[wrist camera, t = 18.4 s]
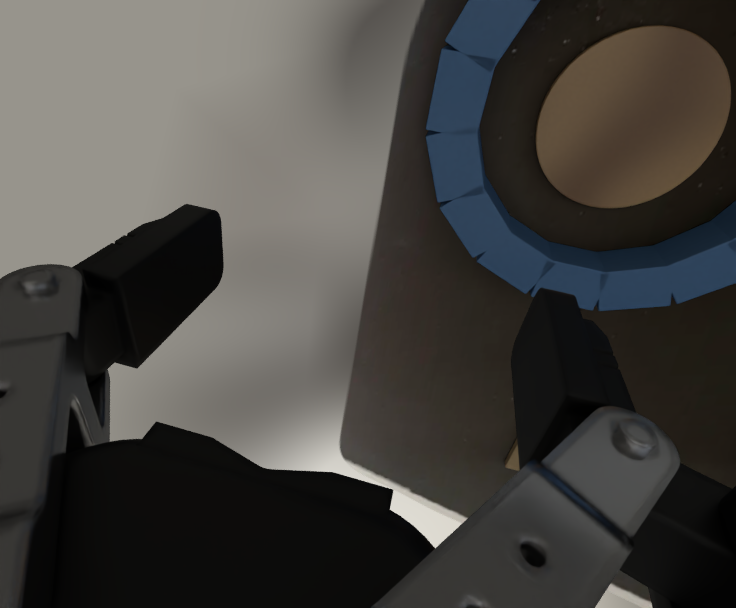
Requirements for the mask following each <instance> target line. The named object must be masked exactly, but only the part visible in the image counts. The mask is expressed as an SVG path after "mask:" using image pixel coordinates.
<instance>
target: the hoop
mask: <svg viewBox="0 0 736 608" xmlns="http://www.w3.org/2000/svg"><path fill="white" fill-rule="evenodd" d="M539 1H540V0H468V2H467V4H466V5H465V7H464V9H463V10H462V12H461V14H460V15H459V17H458V19H457V21H456V22H455V24H454V26H453V27H452V29H451V31H450V32H449V34H448V36H447V37H446V39H445V42H447V43H448V44H449V45H451V46H448V45H446V46H445V47H444V48H442V49H441V54H440V59H439V64H438V69H437V74H436V79H435V84H434V89H433V94H432V99H431V104H430V109H429V114H428V119H427V124H426V130H429V131H428V133H427V135H426V142H427V147H428V153H429V159H430V164H431V170H432V175H433V181H434V186H435V192H436V198H437V202H441V205H440V209H441V211H442V212H443V214H444V215H445V217H446V218H447V220H448V222H449V223H450V225H451V226H452V228H453V229H454V231H455V232H456V234H457V235H458V237H459V238H460V240H461V241H462V243H463V244H464V246H465V247H466V249H467V250H468V252H469V253H470V255H471V256H472V258H473V257H475V256H477V262H478V263H479V264H481V265H482V266H484V267H486V268H487V269H489V270H490V271H492V272H493V273H495V274H496V275H498V276H499V277H501V278H502V279H504V280H505V281H507V282H508V283H510V284H511V285H513V286H514V287H516V288H517V289H519V290H520V291H522V292H523V293H525V294H526V293H527V292H528V291H529V290H530V294H531V296H532V297H534V296H535V294H536V293H537V291H538V290H539V289H540V288H547V289H551V290H555V291H559V292H564V293H568V294H572V295H575V297H576V299H577V302H578V305H579V308H583V309H587V310H593V308H594V307H595V305H597V308H598V311H607V310H620V309H633V308H647V307H660V306H670V303H671V295H672V297H673V299H674V300H675V302H676V303H677V304H679V303H682V302H684V301H687V300H690V299H693V298H695V297H698V296H701V295H704V294H707V293H709V292H712V291H715V290H718V289H720V288H723V287H726V286H729V285H732V284H734V283H736V201H734V202H733V203H732V204H731V205H730V206H728V207H727V208H726V209H725V210H723V211H722V212H721V213H720V214H718V215H717V216H716V217H715V218H713V219H712V220H711V221H709V222H707V223H705V224H702V225H700V226H698V227H695V228H693V229H691V230H688V231H686V232H684V233H681V234H679V235H677V236H674V237H672V238H670V239H667V240H665V241H663V242H660V243H658V244H656V245H653V246H645V247H636V248H627V249H619V250H610V251H601V252H594V251H590V250H585V249H580V248H576V247H571V246H567V245H562V244H558V243H553V242H548V241H547V240H545V239H544V238H542V237H541V236H539V235H538V234H536V233H535V232H533V231H532V230H531V229H529V228H528V227H526V226H525V225H523V224H522V223H520V222H519V221H517V220H516V219H514V218H513V217H512V216H510V215H509V213H508V212H507V210H506V208H505V207H504V205H503V203H502V202H501V200H500V198H499V197H498V195H497V193H496V192H495V190H494V188H493V187H492V185H491V184H490V182H489V180H488V179H487V177H486V175H485V170H484V162H483V154H482V145H481V137H480V129H479V125H480V121H481V117H482V114H483V110H484V106H485V102H486V99H487V95H488V91H489V87H490V84H491V80H492V76H493V72H494V69H495V66H496V65H497V63H498V62H499V60H500V59H501V57H502V56H503V54H504V53H505V51H506V50H507V48H508V47H509V45H510V44H511V42H512V41H513V40H514V38H515V37H516V35H517V34H518V32H519V31H520V29H521V28H522V26H523V25H524V23H525V22H526V20H527V19H528V17H529V16H530V14H531V13H532V12H533V10H534V9H535V7H536V6H537V4H538V3H539Z"/></svg>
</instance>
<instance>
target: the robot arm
mask: <svg viewBox="0 0 736 608" xmlns="http://www.w3.org/2000/svg"><path fill="white" fill-rule="evenodd" d="M222 273H223V248H222V229H221V218H220V216H219V213H218V212H217V211H215V210H211V209H206V208H202V207H198V206H193V205H189V204H186V205H183V206H182V207H180V208H178V209H177V210H175V211H174V212H172V213H171V214H169V215H167V216H166V217H164V218H162V219H158V220H155V221H152V222H148V223H145V224H143V225H141V226H139V227H137V228H136V229H134V230H133V231H131V232H129V233H128V234H127V236H123V237H121V238H120V239H118V240H116V241H115V244H113V243H111V244H110V245H108V246H106V247H105V248H103V249H101V250H100V251H98V252H97V253H95V254H94V255H92V256H90V257H88V258H87V259H85V260H84V261H82V262H80V263H79V264H77V265H75V266H74V267H72V268H71V267H68V266H64V265H54V264H53V265H52V264H47V265H37V266H31V267H26V268H23V269H19V270H16V271H14V272H11V273H9V274H7V275H6V276H4V277H2V278H1V279H0V608H595V606H596V605H597V603H598V602H599V600H600V599H601V597H602V596H603V594H604V593H605V591H606V590H607V588H608V586H609V585H610V583H611V582H612V580H613V579H614V577H615V576H616V574H617V573H618V571H619V570H621V571H622V572H624V573H625V574H627V575H629V576H630V577H632V578H634V579H635V580H637V581H639V582H640V583H642V584H644V585H645V586H647V587H648V589H649V593H650V598H651V602H652V606H653V608H736V486H735V487H734V488H733V489H731V488H729V487H727V486H725V485H723V484H721V483H719V482H717V481H715V480H713V479H711V478H709V477H707V476H705V475H703V474H701V473H699V472H697V471H695V470H693V469H691V468H689V467H687V466H685V465H683V464H681V463H680V458H679V454H678V451H677V449H676V447H675V445H674V444H673V442H672V441H671V440H670V438H669V437H668V436H667V435H666V434H665V433H664V432H663V431H662V430H661V429H660V428H659V427H658V426H657V425H655V424H654V423H652V422H651V421H650V420H648V419H646V418H645V417H643V416H641V415H639V414H637V413H636V411H635V408H634V406H633V403H632V400H631V398H630V395H629V393H628V390H627V387H626V385H625V382H624V380H623V377H622V374H621V372H620V370H619V369H618V364H617V361H616V359H615V356H613V351H612V348H611V346H610V343H609V340H608V338H607V336H606V335H605V334H604V333H603V332H602V331H601V330H600V329H599V327H598V326H597V325H596V324H595V323H594V322H593V321H591V320H587V319H583V318H582V315H581V312H580V309H579V305H578V302H577V299H576V297H575V295H572V294H568V293H564V292H559V291H555V290H551V289H547V288H540V289H539V290H538V291H537V293H536V294H535V296H534V299H533V301H532V303H531V306H530V308H529V310H528V312H527V315H526V317H525V319H524V321H523V324H522V326H521V328H520V331H519V333H518V335H517V337H516V340H515V343H514V346H513V351H512V357H511V368H512V380H513V393H514V405H515V418H516V431H517V443H518V456H519V468H520V471H519V472H518V473H517V474H516V475H515V476H513V477H512V478H511V479H510V480H509V481H508V482H507V483H506V484H505V485H504V486H503V487H502V488H500V489H499V490H498V491H497V492H496V493H495V494H494V495H493V496H492V497H491V498H490V499H489V500H487V501H486V502H485V503H484V504H483V505H482V506H481V507H480V508H479V509H478V510H477V511H476V512H474V513H473V514H472V515H471V516H470V517H469V518H468V519H467V520H466V521H465V522H464V523H463V524H461V525H460V526H459V527H458V528H457V529H456V530H455V531H454V532H453V533H452V534H451V535H450V536H448V537H447V538H446V539H445V540H444V541H443V542H442V543H441V544H440V545H439V546H438V547H437V548H434V547H433V546H432V544H431V543H430V542H429V541H428V540H427V539H426V538H425V536H423V535H422V534H421V533H420V532H419V531H418V530H417V529H416V528H415V527H414V526H413V525H411V524H410V523H409V522H407V521H406V520H405V519H403V518H402V517H401V516H399V515H398V514H396V513H394V512H393V511H391V510H390V505H391V499H392V494H393V490H392V489H389V488H385V487H382V486H378V485H375V484H371V483H368V482H365V481H361V480H358V479H354V478H351V477H347V476H344V475H340V474H337V473H333V472H314V471H293V470H272V469H266V468H262V467H260V466H258V465H257V464H255V463H253V462H252V461H250V460H248V459H247V458H245V457H243V456H242V455H240V454H238V453H237V452H235V451H233V450H232V449H230V448H228V447H227V446H225V445H223V444H222V443H220V442H219V441H216V440H215V439H214V438H211V437H208V436H204V435H201V434H198V433H194V432H191V431H187V430H184V429H180V428H177V427H173V426H170V425H167V424H163V423H159V422H156V423H155V424H154V425H153V426H152V427H151V429H150V430H149V431H148V432H147V434H146V435H145V436H144V437H143V439H129V440H118V441H112V442H110V441H109V440H110V439H109V435H110V426H109V425H110V377H109V373H108V370H107V369H108V368H109V367H110V366H111V365H112V364H113V363H114V362H116V363H119V364H122V365H126V366H130V367H133V368H138V367H139V366H140V365H141V364H142V363H143V362H144V361H145V360H146V359H147V358H148V357H149V356H150V355H151V354H152V353H153V352H154V351H155V350H156V349H157V348H158V347H159V346H160V345H161V344H162V343H163V342H164V341H165V340H166V339H167V337H169V336H170V335H171V334H172V332H173V331H174V330H175V329H176V328H177V327H178V326H179V325H180V324H181V323H182V322H183V321H184V320H185V319H186V318H187V317H188V316H189V315H190V314H191V313H192V312H193V311H194V310H195V309H196V308H197V307H198V306H199V305H200V304H201V303H202V302H203V301H204V300H205V299H206V298H207V297H208V296H209V295H210V294H211V293H212V292H213V291H214V290H215V289H216V287H217V286H218V284H219V283H220V280H221V278H222Z"/></svg>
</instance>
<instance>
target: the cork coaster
mask: <svg viewBox="0 0 736 608" xmlns="http://www.w3.org/2000/svg"><path fill="white" fill-rule="evenodd" d="M730 104H731V84H730V79H729V75H728V70H727V68H726V66H725V64H724V61H723V59H722V58H721V56H720V55H719V54H718V52H717V51H716V49H715V48H714V47H712V46H711V45H710V44H709V43H708V42H707V41H706V40H704V39H703V38H701V37H700V36H698V35H697V34H694V33H692V32H690V31H688V30H685V29H681V28H677V27H673V26H662V25H649V26H640V27H634V28H629V29H626V30H623V31H620V32H616V33H614V34H612V35H610V36H607V37H605V38H603V39H601V40H599V41H598V42H596V43H594V44H593V45H591V46H589V47H588V48H587V49H585V50H584V51H583V52H581V53H580V54H579V55H578V56H576V57H575V58H574V59H573V60H572V61H571V62H570V63H569V64H568V65H567V66H566V67H565V68H564V69H563V71H562V72H561V73H560V74H559V75H558V77H557V78H556V80H555V81H554V82H553V84H552V85H551V87H550V89H549V91H548V92H547V94H546V96H545V98H544V100H543V103H542V105H541V108H540V111H539V115H538V118H537V123H536V130H535V145H536V153H537V156H538V160H539V163H540V166H541V168H542V170H543V173H544V174H545V176H546V177H547V179H548V181H549V182H550V183H551V184H552V185H553V186H554V187H555V189H557V190H558V191H559V192H560V193H561V194H563V195H564V196H566V197H568V198H569V199H571V200H573V201H575V202H578V203H580V204H583V205H587V206H591V207H597V208H621V207H628V206H633V205H637V204H640V203H644V202H647V201H649V200H652V199H654V198H657V197H659V196H661V195H663V194H664V193H666V192H668V191H670V190H672V189H673V188H675V187H676V186H678V185H679V184H681V183H682V182H683V181H684V180H686V179H687V178H688V177H689V176H691V175H692V174H693V173H694V172H695V171H696V170H697V169H698V168H699V167H700V166H701V165H702V163H703V162H704V161H705V160H706V159H707V157H708V156H709V155H710V153H711V152H712V150H713V149H714V147H715V146H716V144H717V142H718V140H719V139H720V137H721V135H722V133H723V130H724V127H725V125H726V122H727V119H728V115H729V110H730Z"/></svg>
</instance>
